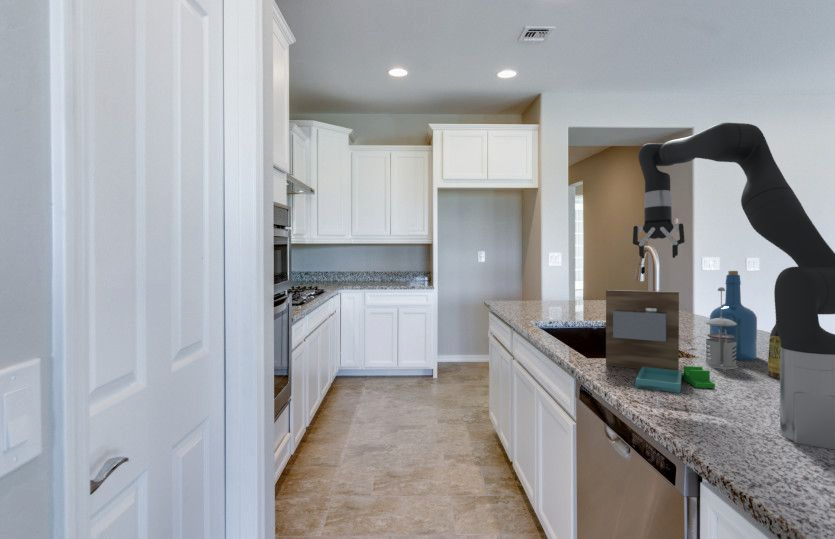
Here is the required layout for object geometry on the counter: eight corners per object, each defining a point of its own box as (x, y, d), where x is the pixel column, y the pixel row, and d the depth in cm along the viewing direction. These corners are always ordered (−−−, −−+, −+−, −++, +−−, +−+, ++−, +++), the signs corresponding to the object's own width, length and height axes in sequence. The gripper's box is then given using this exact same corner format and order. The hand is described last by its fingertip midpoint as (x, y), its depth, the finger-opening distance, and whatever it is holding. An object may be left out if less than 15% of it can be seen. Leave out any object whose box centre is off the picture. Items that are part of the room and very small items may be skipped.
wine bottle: (762, 364, 140) (763, 271, 140) (713, 360, 146) (713, 271, 145) (751, 356, 153) (751, 270, 152) (706, 353, 158) (706, 270, 158)
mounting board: (678, 373, 129) (678, 292, 129) (605, 365, 140) (606, 290, 140) (678, 371, 131) (678, 291, 131) (607, 363, 142) (607, 290, 141)
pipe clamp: (715, 373, 113) (695, 373, 114) (715, 388, 113) (695, 387, 114) (696, 364, 124) (679, 363, 125) (697, 377, 124) (679, 376, 125)
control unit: (665, 341, 126) (665, 309, 126) (613, 337, 133) (613, 307, 133) (666, 338, 131) (667, 307, 131) (616, 334, 138) (616, 305, 138)
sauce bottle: (763, 376, 125) (763, 307, 125) (775, 374, 128) (775, 306, 127) (790, 382, 119) (790, 309, 119) (802, 379, 122) (803, 308, 122)
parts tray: (680, 393, 109) (680, 384, 109) (635, 387, 115) (635, 378, 115) (681, 378, 123) (681, 371, 123) (642, 374, 128) (642, 366, 128)
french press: (738, 365, 139) (738, 286, 139) (742, 373, 129) (743, 288, 129) (701, 361, 144) (701, 286, 144) (703, 369, 134) (703, 287, 134)
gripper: (631, 207, 138) (631, 258, 138) (684, 203, 131) (684, 257, 131) (634, 210, 145) (634, 258, 144) (684, 206, 137) (684, 257, 137)
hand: (658, 258), depth 138 cm, fingers open, 8 cm apart
